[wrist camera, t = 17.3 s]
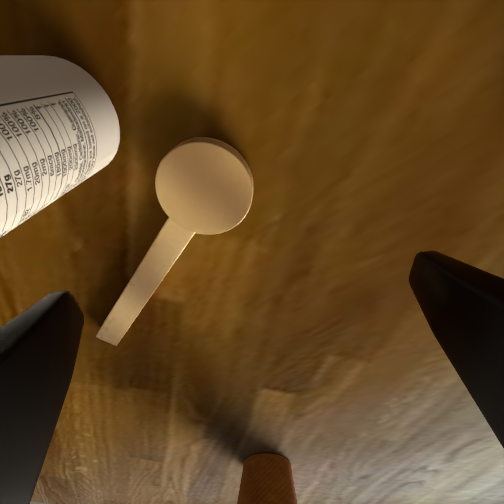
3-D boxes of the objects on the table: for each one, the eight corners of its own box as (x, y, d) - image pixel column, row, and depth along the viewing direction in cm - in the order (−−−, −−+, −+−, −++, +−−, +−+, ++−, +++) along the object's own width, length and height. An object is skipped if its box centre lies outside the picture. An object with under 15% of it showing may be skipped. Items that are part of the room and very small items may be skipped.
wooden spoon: (140, 346, 29) (136, 357, 28) (78, 318, 27) (71, 329, 26) (272, 175, 19) (272, 182, 18) (188, 114, 17) (183, 118, 16)
